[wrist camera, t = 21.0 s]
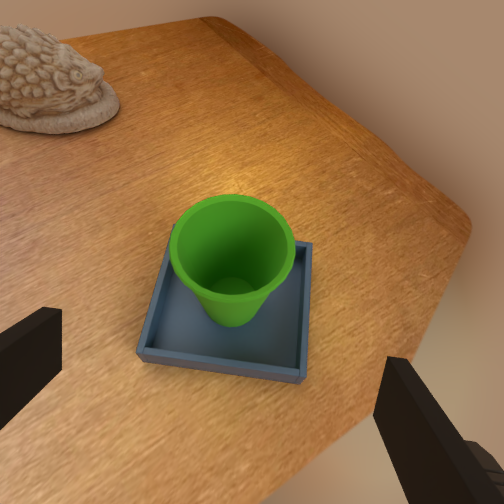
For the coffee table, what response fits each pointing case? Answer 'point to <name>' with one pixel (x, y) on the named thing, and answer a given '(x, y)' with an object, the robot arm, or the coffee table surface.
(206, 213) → the cup
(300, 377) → the blue tray
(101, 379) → the coffee table surface
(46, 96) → the sculpture
